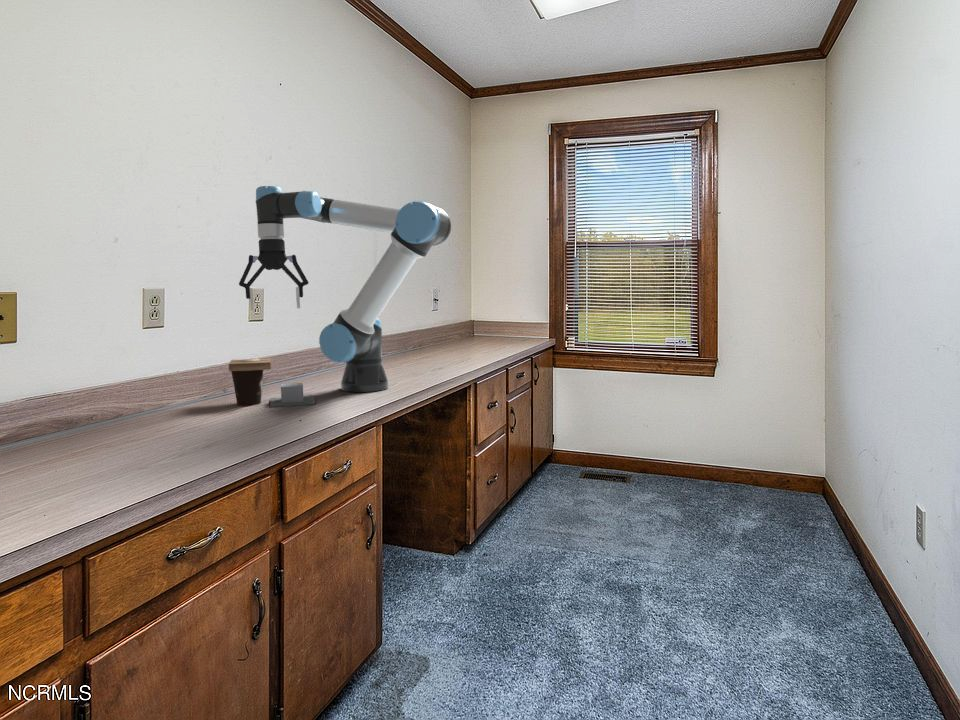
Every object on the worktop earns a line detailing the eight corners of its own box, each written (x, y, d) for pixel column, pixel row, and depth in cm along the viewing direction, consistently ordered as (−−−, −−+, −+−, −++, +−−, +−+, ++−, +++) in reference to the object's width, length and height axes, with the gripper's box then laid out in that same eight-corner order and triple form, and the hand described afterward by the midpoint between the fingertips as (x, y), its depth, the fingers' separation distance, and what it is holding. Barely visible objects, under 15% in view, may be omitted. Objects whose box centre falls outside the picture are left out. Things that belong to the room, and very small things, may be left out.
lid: (270, 369, 181) (270, 361, 181) (229, 371, 178) (228, 363, 178) (271, 364, 192) (270, 357, 191) (231, 366, 188) (231, 358, 188)
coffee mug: (254, 406, 179) (252, 371, 178) (226, 406, 180) (224, 370, 179) (275, 399, 190) (274, 365, 189) (249, 398, 192) (247, 365, 191)
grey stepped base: (312, 397, 193) (312, 380, 192) (315, 404, 181) (314, 386, 181) (270, 399, 189) (269, 383, 189) (270, 407, 178) (269, 389, 177)
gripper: (312, 240, 203) (315, 307, 206) (227, 239, 195) (232, 310, 197) (314, 238, 196) (318, 307, 199) (227, 237, 188) (232, 310, 190)
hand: (275, 309), depth 198 cm, fingers open, 13 cm apart
